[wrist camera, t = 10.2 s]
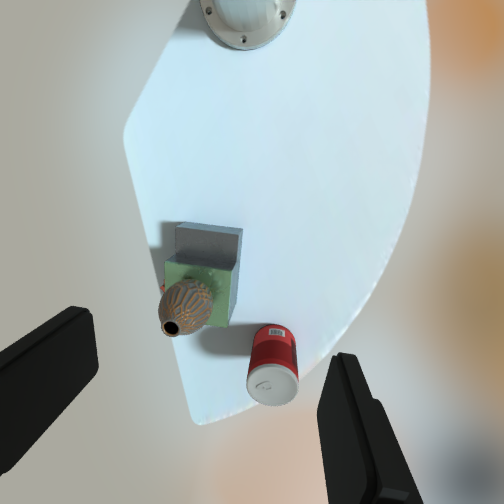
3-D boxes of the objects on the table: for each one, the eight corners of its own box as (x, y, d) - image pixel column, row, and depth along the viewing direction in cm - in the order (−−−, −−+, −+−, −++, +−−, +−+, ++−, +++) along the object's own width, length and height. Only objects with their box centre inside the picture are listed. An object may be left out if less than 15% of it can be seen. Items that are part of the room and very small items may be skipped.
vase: (223, 310, 37) (206, 350, 29) (181, 316, 39) (153, 355, 30) (211, 269, 35) (190, 298, 27) (167, 275, 37) (134, 306, 28)
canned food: (246, 334, 48) (235, 380, 37) (280, 315, 46) (279, 358, 35) (268, 362, 49) (265, 414, 39) (303, 345, 47) (308, 395, 37)
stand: (180, 221, 42) (158, 231, 35) (242, 228, 41) (233, 241, 34) (179, 293, 47) (160, 317, 39) (236, 302, 46) (227, 328, 38)
